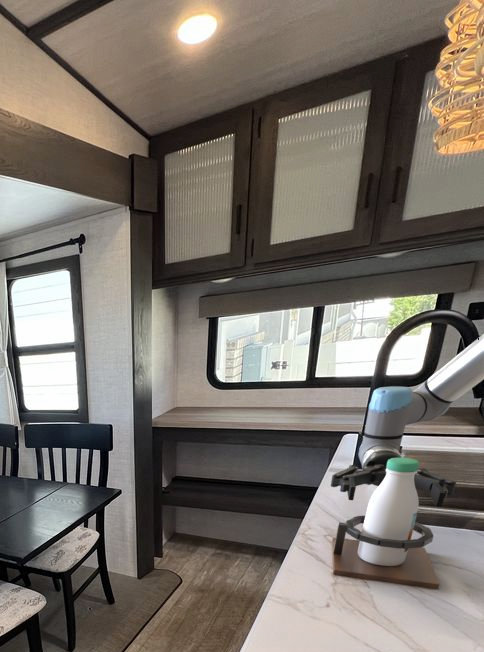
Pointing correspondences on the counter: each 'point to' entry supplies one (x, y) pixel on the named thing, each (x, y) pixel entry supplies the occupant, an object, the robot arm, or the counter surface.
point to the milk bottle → (391, 513)
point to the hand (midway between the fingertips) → (394, 496)
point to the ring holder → (409, 572)
